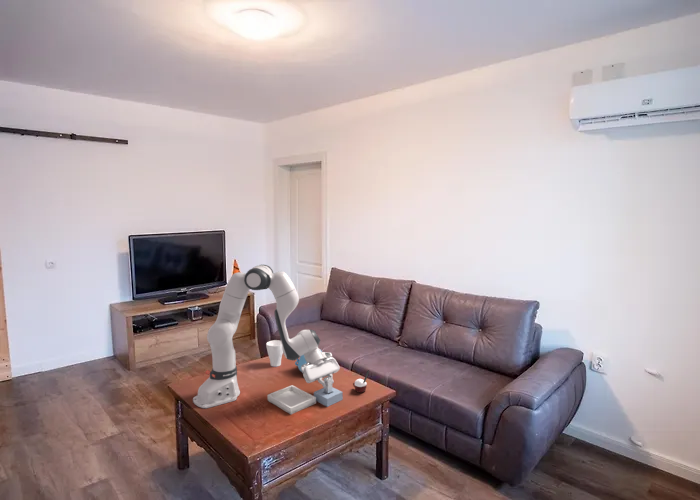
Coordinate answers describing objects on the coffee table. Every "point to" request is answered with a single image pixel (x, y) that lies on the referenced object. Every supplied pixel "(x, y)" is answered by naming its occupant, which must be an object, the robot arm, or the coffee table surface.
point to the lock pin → (328, 385)
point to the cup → (275, 352)
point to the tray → (291, 399)
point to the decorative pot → (301, 362)
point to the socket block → (328, 396)
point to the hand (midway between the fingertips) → (328, 384)
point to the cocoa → (361, 384)
